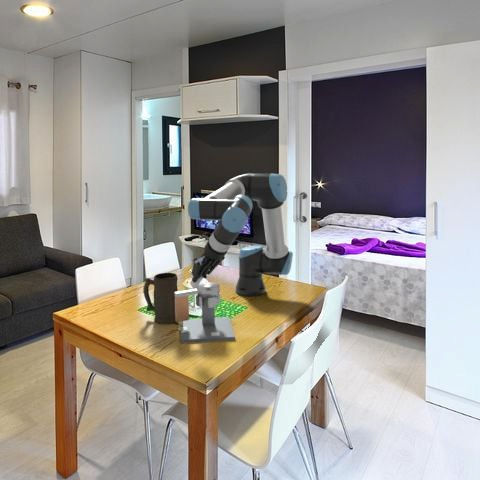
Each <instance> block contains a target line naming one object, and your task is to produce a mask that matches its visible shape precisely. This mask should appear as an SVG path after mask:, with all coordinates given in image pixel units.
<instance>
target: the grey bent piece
mask: <svg viewBox="0 0 480 480" xmlns="http://www.w3.org/2000/svg"><path fill="white" fill-rule="evenodd" d="M220 288H221V287H220V284H219V283H217V282H214V281H212V282H211V281H206V282H205V281H204V282H200V283H199V285H198V286H197V288H195V289H193V288H192V289H187V290H180V291H178V292H175V321H176V322H175V323H179V322H182V321H187V320H189V319H190V309H189V307H190V304H189V303H190V300H189V297H190V296H194V295H195V304H196V306H197V307H198V308H202V298H207V301H208V308H212V307H215V308H217V307H218V305H219V304H221V293H220V292H221V291H220Z"/></svg>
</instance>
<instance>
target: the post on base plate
mask: <svg viewBox="0 0 480 480" xmlns="http://www.w3.org/2000/svg"><path fill="white" fill-rule="evenodd" d="M215 308H216V307H212V308H208V301H207V298H202V307H201V317H200V318H189V320H187V321H182V322H178V331H179V332H180V343H181V344H185V343H187V344H188V343H205V342H220V341H221V342H223V341H236V336H235V331H234V328H233V326H232V322H231V318H230V316H222V317H220V316H219V317H216V316H215V314H216V312H215Z"/></svg>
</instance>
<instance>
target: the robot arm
mask: <svg viewBox="0 0 480 480" xmlns="http://www.w3.org/2000/svg"><path fill="white" fill-rule="evenodd" d="M287 197H288V184H287V181H286V178H285V176H284V175H282V174H279V173H244V174H241V175H237V176H234V177H233V178H230V179H228V180H227V181H226V182H225V183H224V185H223V186H222V187H220V188H219V189H217V190H215V191H213V192H211V193H210V194H208V195H206V196H205V197H202V198H200V197H198V198H197V197H196V198H195V197H193V198H191V199H190V200H189V201H188V204H187V212H188V216H189V217H190V219H192V220H199V221H219V222H218V224H217V226H216V227H215V229H214V230H213V232H212V233H211V234H210V237H209V239H208V240H207V242H206V244H205V245H204V248H203V249H204V252H203V253H202V255H201V256H200V258H197V257H196V258H193V265H192V269H191V271H190V272H191V273H190V274H191V275H192V278H191V281H190V283H189V284H190V286H191V288H192V290H193V289H197V286H198V285H199V284H200V283H202V281H203V279H207V278H208V276H207V275H210V274H212V272H213V271H214V270H215V269H216V268H217V267H218V266H219V265H220V263H221V262H223V261H224V260H225V259H226V257H225V256H226V254H227V253H228V251H229V250H230V248H231V246H232V244H233V243H234V242H235V240H236V239H237V238H238V236H239V234H240V233H241V231H242V230H244V227H245V226H246V223H247V221H248V218H249V216H250V215H251V213H252V209H253V208H254V207H253V201H254V202H255V201H256V203H257V207H259V208H260V209H261V213H262V220H263V227H264V228H263V229H264V236H265V242H266V243H265V244H266V246H265V248H264V247H263V246H262V245H248V246H244V247H242V248H240V250H239V253H238V254H239V255H238V273H239V274H238V279H237V282H236V285H235V293H236V294H237V295H241V296H245V297H257V296H261V295H264V294H265V293H266V285H265V282H264V278H263V274H267V275H268V274H269V275H278V276H279V275H280V276H282V275H284V276H286V275H289V274H290V272H291V268H292V265H293V264H292V263H293V254H294V253H293V252H292V251H291V250H289V247H288V246H287V245H286V244H285V234H284V225H283V224H284V223H283V222H284V221H283V214H282V213H283V212H282V206H284V202H286V200H287Z"/></svg>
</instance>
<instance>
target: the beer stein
mask: <svg viewBox="0 0 480 480" xmlns="http://www.w3.org/2000/svg"><path fill="white" fill-rule="evenodd" d="M178 279H179V278H178V275H177V274H176V273H174V272H161V273H157V274H155V275H154V278H153V279H151V278H150V277H146V278H145V279H144V280H145V281H144V285H143V296H144V299H145V302H146V303H147V307H146V311H147V312H151V311H152V312H153V313H154V318H153V319H154V322H156V323H157V324H161V325H171V324H175V323H177V322H176V321H175V292H179V291H178ZM150 285H152V286H153V303H152V300H151V296H150V292H149V291H150V290H149V287H150Z"/></svg>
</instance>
